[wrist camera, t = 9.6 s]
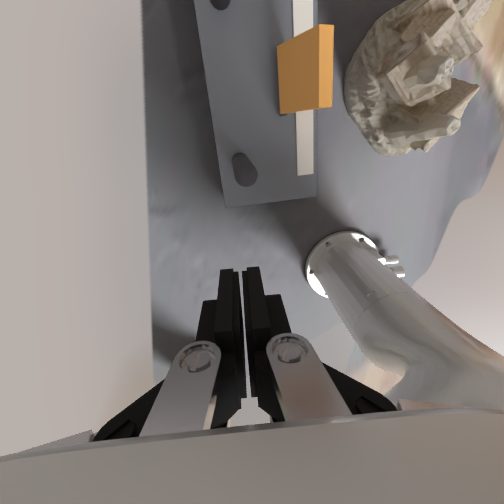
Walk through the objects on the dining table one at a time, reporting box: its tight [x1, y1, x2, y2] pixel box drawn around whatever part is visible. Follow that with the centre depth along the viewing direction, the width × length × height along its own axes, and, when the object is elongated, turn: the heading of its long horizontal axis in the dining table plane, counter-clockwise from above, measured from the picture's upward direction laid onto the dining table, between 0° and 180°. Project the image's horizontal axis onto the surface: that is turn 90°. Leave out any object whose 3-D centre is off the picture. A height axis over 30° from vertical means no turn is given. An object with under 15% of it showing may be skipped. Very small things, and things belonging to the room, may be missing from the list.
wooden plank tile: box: [276, 24, 334, 116], centre depth 26 cm, size 2×6×7 cm, turn 3°
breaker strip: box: [194, 0, 317, 208], centre depth 31 cm, size 12×26×6 cm, turn 6°
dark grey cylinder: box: [232, 153, 258, 187], centre depth 27 cm, size 2×2×10 cm
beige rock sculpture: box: [344, 0, 492, 157], centre depth 28 cm, size 16×16×15 cm
